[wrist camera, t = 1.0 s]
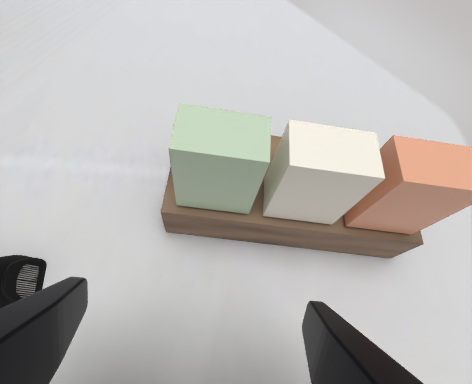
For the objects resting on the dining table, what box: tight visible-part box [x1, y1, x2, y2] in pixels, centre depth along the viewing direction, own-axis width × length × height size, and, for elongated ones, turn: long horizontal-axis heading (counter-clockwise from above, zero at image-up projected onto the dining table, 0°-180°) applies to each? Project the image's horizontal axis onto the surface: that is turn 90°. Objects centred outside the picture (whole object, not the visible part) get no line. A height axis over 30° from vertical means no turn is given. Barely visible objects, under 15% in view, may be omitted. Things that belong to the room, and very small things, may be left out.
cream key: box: [263, 120, 385, 225], centre depth 18 cm, size 3×5×6 cm, turn 86°
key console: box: [161, 136, 423, 258], centre depth 24 cm, size 8×19×4 cm, turn 86°
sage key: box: [169, 103, 271, 214], centre depth 18 cm, size 3×5×6 cm, turn 86°
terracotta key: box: [344, 135, 472, 234], centre depth 18 cm, size 3×5×6 cm, turn 86°
